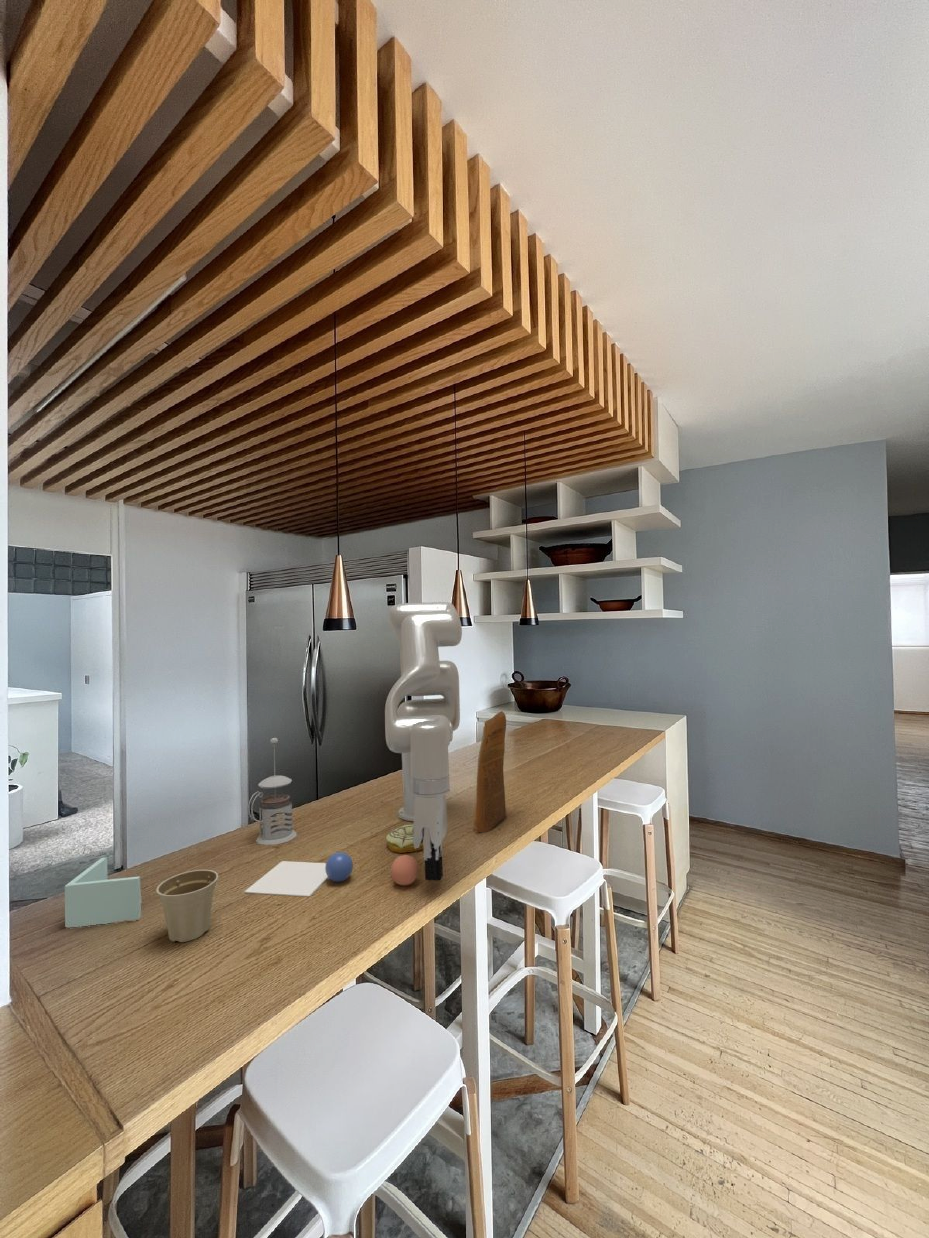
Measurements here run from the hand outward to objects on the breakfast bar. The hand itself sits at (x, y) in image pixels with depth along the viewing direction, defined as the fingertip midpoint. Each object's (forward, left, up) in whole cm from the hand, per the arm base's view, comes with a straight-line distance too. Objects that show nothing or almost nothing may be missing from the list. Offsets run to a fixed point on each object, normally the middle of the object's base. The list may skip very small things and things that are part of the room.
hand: (434, 878), depth 102 cm
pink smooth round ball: (0, -6, +1) cm, 6 cm away
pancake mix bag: (-35, +7, -2) cm, 36 cm away
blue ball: (0, -20, +1) cm, 20 cm away
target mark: (0, -30, -1) cm, 30 cm away
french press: (-20, -47, -2) cm, 51 cm away
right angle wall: (+15, -58, -2) cm, 60 cm away
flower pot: (+21, -38, -2) cm, 43 cm away
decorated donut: (-19, -11, -2) cm, 22 cm away
